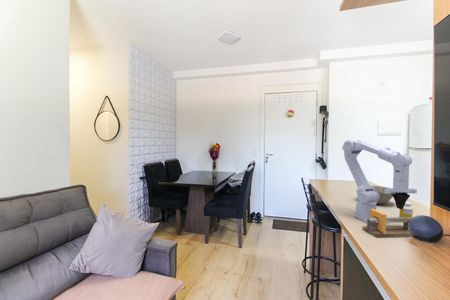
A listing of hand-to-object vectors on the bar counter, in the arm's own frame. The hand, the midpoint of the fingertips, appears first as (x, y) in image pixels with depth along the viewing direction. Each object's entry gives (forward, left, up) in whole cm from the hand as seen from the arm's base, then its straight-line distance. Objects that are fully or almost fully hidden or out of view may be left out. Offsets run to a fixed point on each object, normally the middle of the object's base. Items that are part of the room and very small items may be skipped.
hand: (399, 208), depth 106 cm
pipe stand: (+3, -7, -10) cm, 13 cm away
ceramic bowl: (-45, +24, -11) cm, 52 cm away
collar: (+3, -13, -8) cm, 16 cm away
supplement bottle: (-12, +15, -11) cm, 22 cm away
